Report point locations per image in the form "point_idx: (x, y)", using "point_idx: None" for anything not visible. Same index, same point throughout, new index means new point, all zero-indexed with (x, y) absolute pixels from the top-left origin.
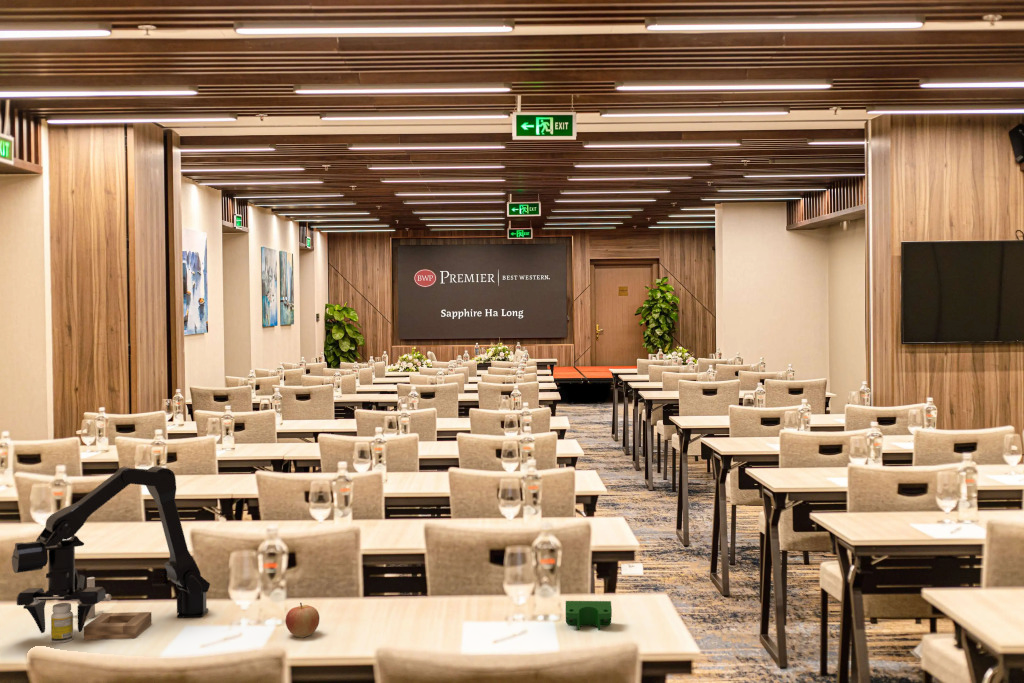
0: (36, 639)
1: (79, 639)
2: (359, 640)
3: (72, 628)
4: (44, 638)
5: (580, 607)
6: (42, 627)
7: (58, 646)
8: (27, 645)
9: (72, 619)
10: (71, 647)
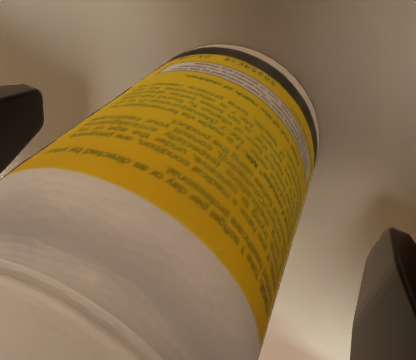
0: (19, 12)
1: (379, 176)
2: None
3: (297, 223)
4: (68, 4)
5: None
6: (4, 157)
7: None
8: (31, 149)
9: (274, 301)
10: (313, 324)
